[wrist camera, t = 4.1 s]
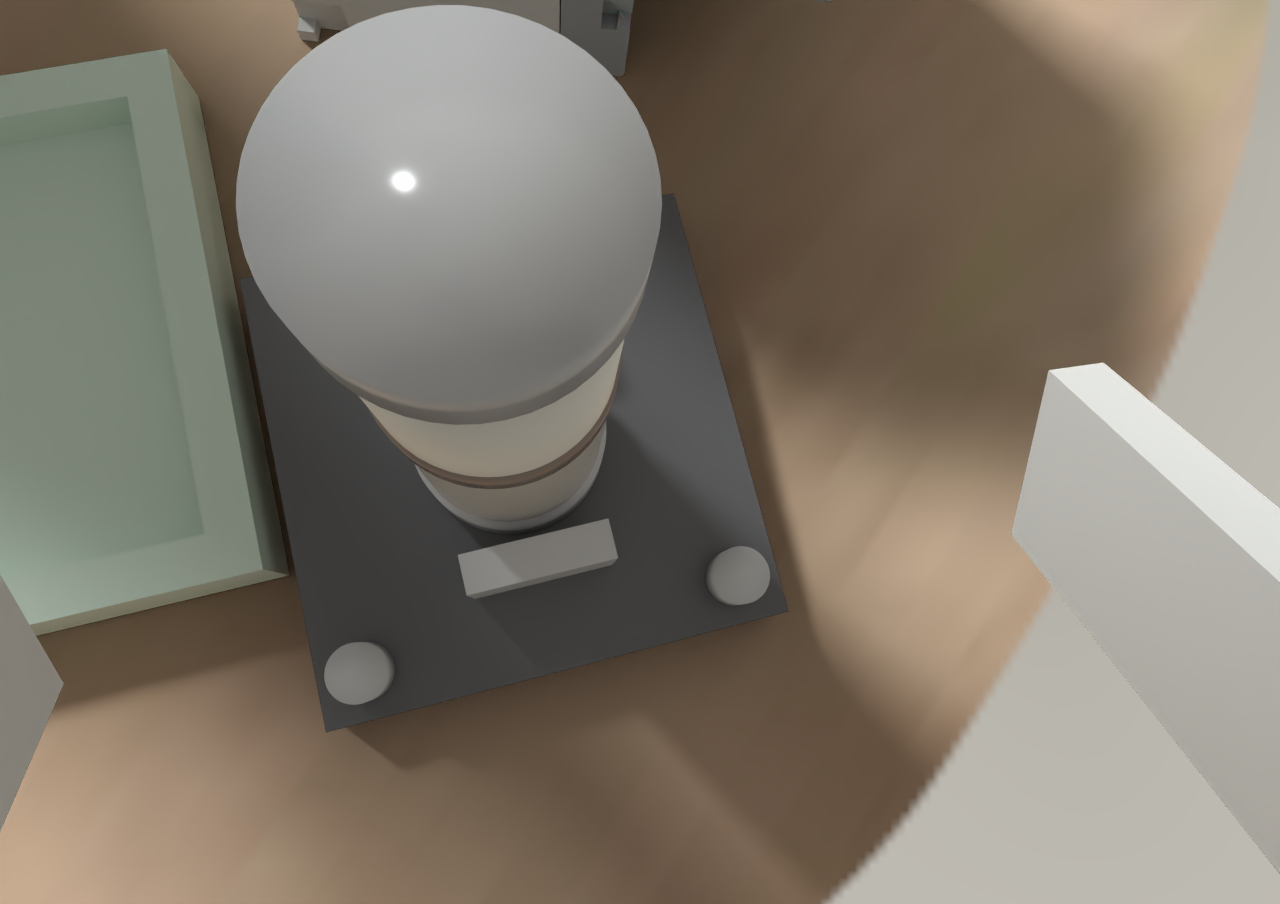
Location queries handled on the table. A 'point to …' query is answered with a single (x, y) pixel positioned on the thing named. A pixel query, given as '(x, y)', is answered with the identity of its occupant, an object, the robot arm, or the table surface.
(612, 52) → the circuit breaker
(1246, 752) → the robot arm
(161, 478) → the tray
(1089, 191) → the table surface
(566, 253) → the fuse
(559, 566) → the block
